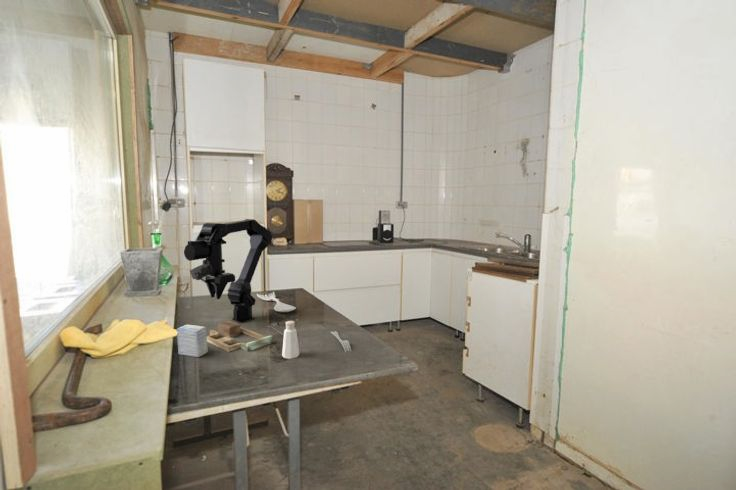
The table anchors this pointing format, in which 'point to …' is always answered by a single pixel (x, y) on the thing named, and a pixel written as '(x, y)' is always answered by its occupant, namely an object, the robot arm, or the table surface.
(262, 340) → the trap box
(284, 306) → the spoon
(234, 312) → the robot arm
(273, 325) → the wrench
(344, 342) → the fork
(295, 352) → the salt shaker
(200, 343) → the medicine box
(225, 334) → the block
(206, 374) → the table surface
